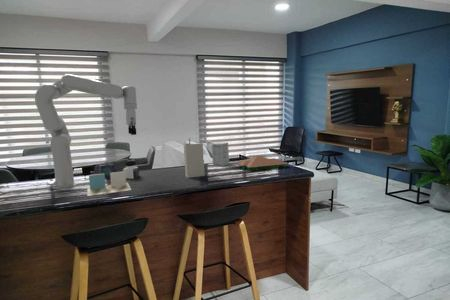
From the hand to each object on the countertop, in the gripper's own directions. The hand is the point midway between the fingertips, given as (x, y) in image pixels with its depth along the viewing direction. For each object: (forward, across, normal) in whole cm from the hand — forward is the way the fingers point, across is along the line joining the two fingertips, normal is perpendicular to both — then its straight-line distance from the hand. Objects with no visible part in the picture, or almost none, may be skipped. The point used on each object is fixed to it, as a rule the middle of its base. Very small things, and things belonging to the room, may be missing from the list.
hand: (132, 134), depth 189 cm
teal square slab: (+28, +16, -23) cm, 40 cm away
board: (+29, +21, -18) cm, 40 cm away
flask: (+29, -12, -16) cm, 36 cm away
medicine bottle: (+29, -2, -2) cm, 29 cm away
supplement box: (+29, -10, +65) cm, 72 cm away
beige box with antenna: (+29, +13, +36) cm, 48 cm away
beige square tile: (+28, +17, -12) cm, 35 cm away
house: (+29, +12, +86) cm, 92 cm away
